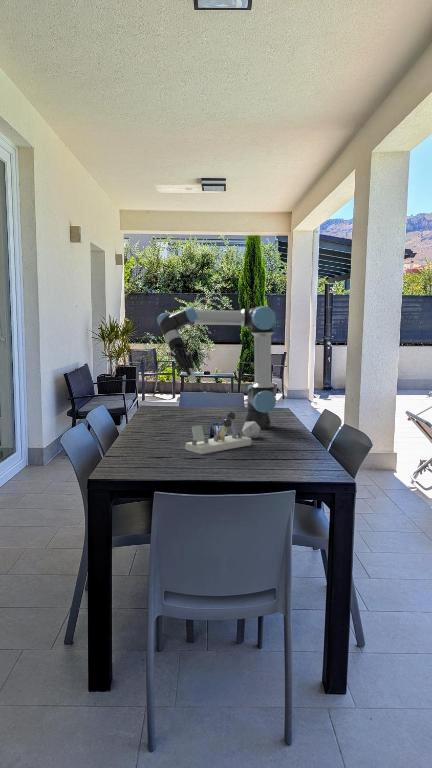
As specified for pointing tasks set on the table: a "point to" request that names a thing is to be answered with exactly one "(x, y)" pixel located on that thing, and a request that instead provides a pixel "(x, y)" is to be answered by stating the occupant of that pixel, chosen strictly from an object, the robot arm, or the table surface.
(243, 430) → the die
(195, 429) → the sage paddle
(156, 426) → the table surface
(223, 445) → the panel
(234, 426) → the grey lever
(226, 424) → the brass lever
